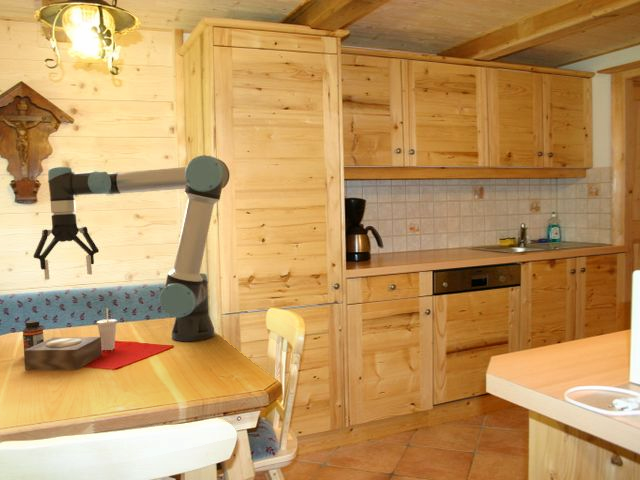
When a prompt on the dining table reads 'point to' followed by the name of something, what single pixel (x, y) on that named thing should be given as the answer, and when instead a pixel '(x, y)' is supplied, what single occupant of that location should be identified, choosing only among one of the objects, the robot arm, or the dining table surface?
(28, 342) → the supplement bottle
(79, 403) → the dining table surface
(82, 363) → the stand
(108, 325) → the white drink cup
